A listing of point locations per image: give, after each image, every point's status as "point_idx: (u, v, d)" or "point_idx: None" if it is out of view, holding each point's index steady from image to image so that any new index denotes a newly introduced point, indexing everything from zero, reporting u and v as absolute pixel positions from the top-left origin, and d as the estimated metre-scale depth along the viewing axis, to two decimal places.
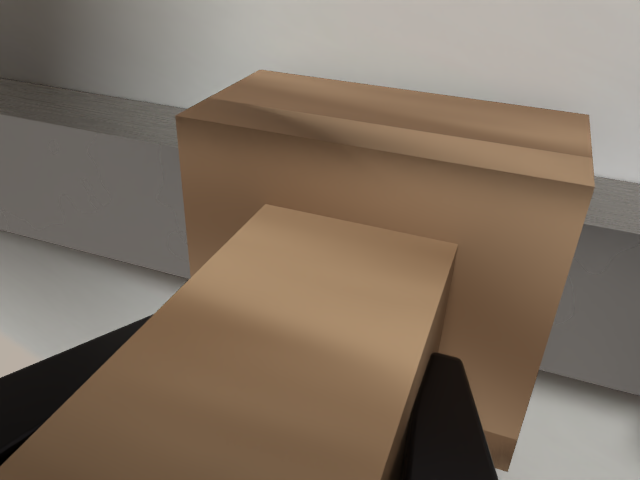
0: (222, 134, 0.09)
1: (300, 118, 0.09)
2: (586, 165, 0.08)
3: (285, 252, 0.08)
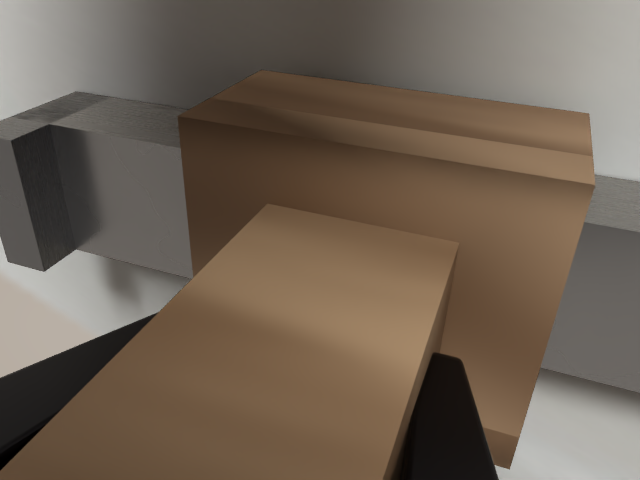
0: (224, 134, 0.09)
1: (301, 119, 0.09)
2: (586, 163, 0.08)
3: (287, 251, 0.08)
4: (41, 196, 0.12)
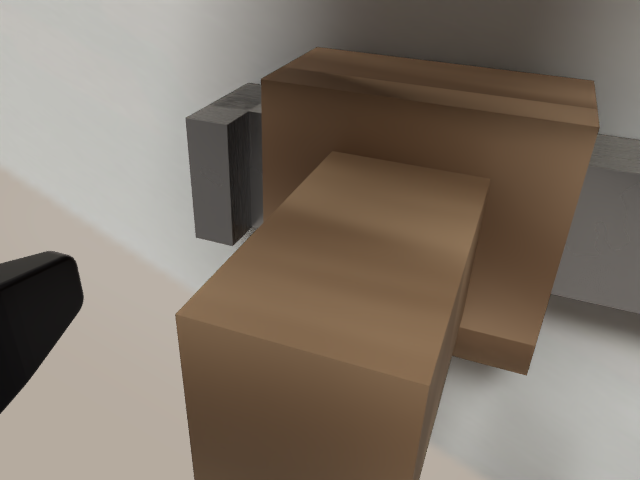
0: (299, 93, 0.11)
1: (361, 82, 0.11)
2: (592, 114, 0.10)
3: (355, 182, 0.10)
4: (237, 176, 0.13)
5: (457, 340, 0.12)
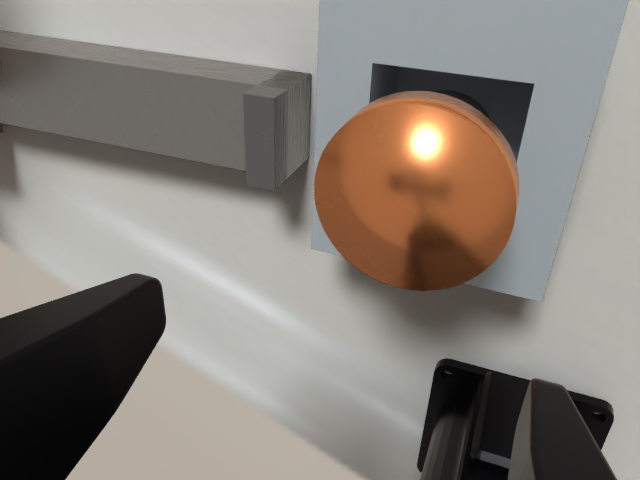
0: None
1: None
2: None
3: None
4: None
5: None
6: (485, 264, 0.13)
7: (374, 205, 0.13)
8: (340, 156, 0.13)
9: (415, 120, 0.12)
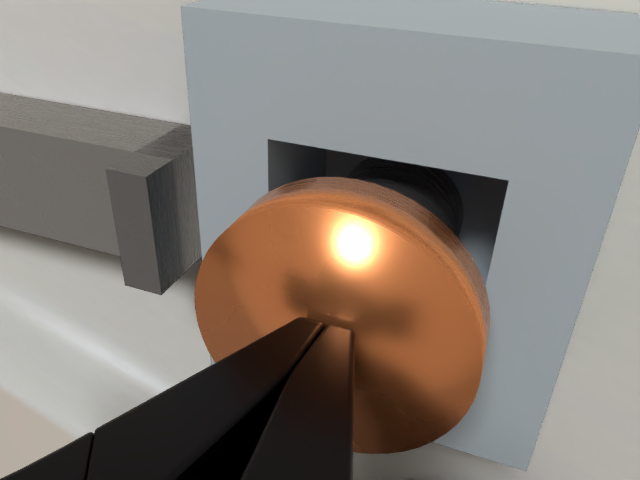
0: None
1: None
2: None
3: None
4: None
5: None
6: (440, 430, 0.09)
7: None
8: (226, 272, 0.09)
9: (326, 230, 0.08)
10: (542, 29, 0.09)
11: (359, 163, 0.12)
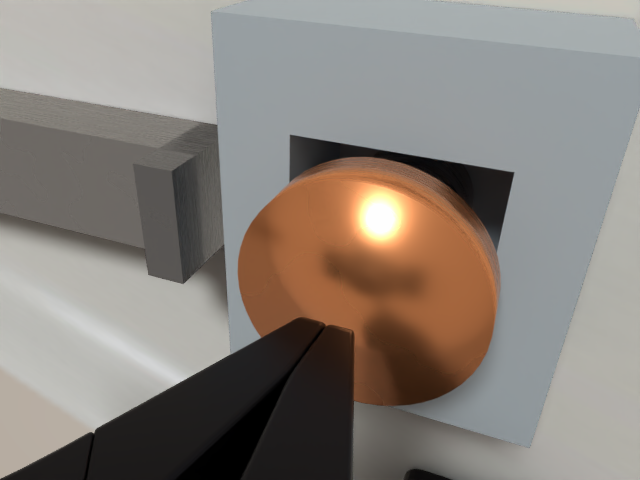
0: None
1: None
2: None
3: None
4: None
5: None
6: (456, 381, 0.10)
7: (313, 302, 0.10)
8: (267, 241, 0.10)
9: (359, 201, 0.09)
10: (545, 33, 0.09)
11: (378, 151, 0.13)
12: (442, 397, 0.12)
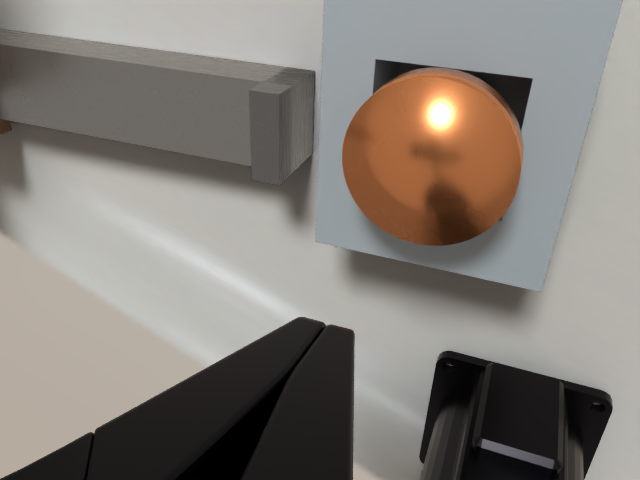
0: None
1: None
2: None
3: None
4: None
5: None
6: (493, 219, 0.14)
7: (395, 169, 0.15)
8: (366, 125, 0.14)
9: (433, 91, 0.13)
10: None
11: None
12: (477, 257, 0.17)
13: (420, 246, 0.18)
